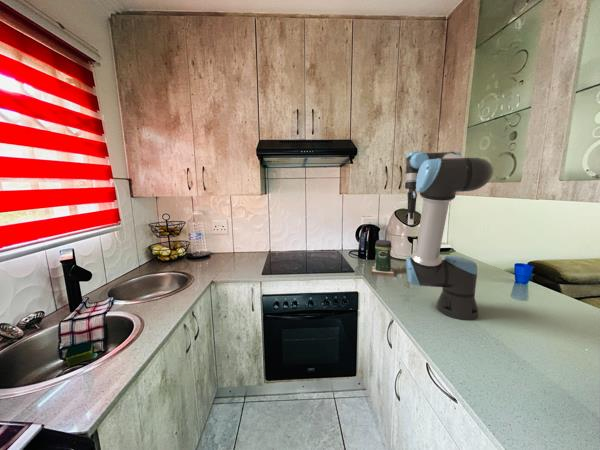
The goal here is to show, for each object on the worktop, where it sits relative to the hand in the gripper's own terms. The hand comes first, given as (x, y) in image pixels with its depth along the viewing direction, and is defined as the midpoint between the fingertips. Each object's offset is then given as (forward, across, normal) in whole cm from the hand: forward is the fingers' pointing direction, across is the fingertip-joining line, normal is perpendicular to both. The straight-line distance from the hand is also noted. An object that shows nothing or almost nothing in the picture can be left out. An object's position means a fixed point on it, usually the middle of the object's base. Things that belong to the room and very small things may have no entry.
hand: (410, 224), depth 139 cm
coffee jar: (+30, -9, -13) cm, 34 cm away
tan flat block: (+32, -9, -13) cm, 35 cm away
